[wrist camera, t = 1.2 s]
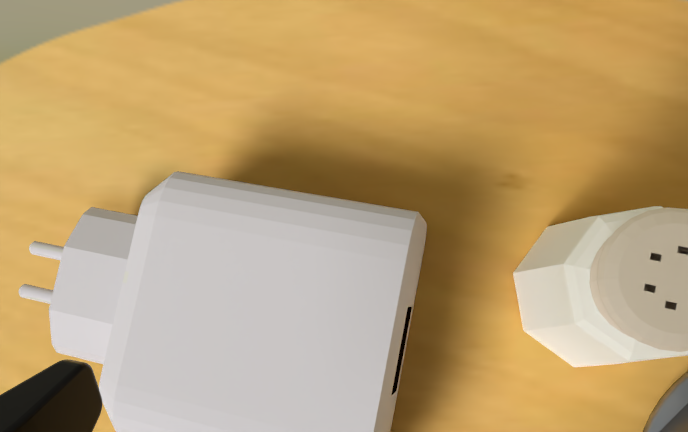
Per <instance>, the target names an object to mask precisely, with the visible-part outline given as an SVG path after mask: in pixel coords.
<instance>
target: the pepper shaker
mask: <svg viewBox="0 0 688 432" xmlns="http://www.w3.org/2000/svg"><path fill="white" fill-rule="evenodd" d="M513 276H514V281H515V287H516V292H517V298H518V303H519V309H520V314H521V320H522V325H523V331H525V332H526V333H527V334H529V335H530V336H532V337H533V338H534V339H536V340H537V341H538V342H540V343H541V344H543V345H544V346H545V347H547V348H548V349H549V350H551V351H552V352H554V353H555V354H556V355H558V356H559V357H561V358H562V359H563V360H565V361H566V362H567V363H569V364H570V365H572V366H573V367H584V366H597V365H609V364H622V363H628V362H636V361H644V360H653V359H661V358H669V357H678V356H688V209H681V208H669V207H667V208H664V207H662V206H653V207H647V208H641V209H635V210H629V211H623V212H616V213H610V214H604V215H598V216H591V217H587V218H583V219H578V220H574V221H570V222H565V223H561V224H557V225H553V226H548V227H546V229H545V230H544V231H543V233H542V234H541V236H540V237H539V238H538V240H537V241H536V242H535V244H534V245H533V246H532V248H531V249H530V251H529V252H528V253H527V255H526V256H525V257H524V259H523V260H522V262H521V263H520V264H519V266H518V267H517V268H516V270H515V271H514V272H513Z"/></svg>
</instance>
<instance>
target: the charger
mask: <svg viewBox="0 0 688 432" xmlns="http://www.w3.org/2000/svg"><path fill="white" fill-rule="evenodd" d="M426 233H427V223H426V222H425V220H424V219H423V218H422V216H421V215H420V213H419V212H416V211H410V210H404V209H399V208H393V207H387V206H381V205H375V204H369V203H363V202H357V201H351V200H345V199H339V198H333V197H327V196H321V195H315V194H309V193H303V192H297V191H292V190H286V189H280V188H274V187H268V186H262V185H256V184H250V183H244V182H238V181H232V180H226V179H220V178H214V177H208V176H202V175H196V174H190V173H185V172H179V171H178V172H174V173H173V174H172V175H170V176H169V177H168V178H167V179H165V180H164V181H163V182H161V183H160V184H159V185H158V186H156V187H155V188H154V189H153V190H151V191H150V192H149V193H148V194H147V195H146V196H145V197H144V199H143V201H142V203H141V206H140V209H139V213H138V216H136V215H130V214H125V213H120V212H115V211H109V210H104V209H99V208H93V207H91V208H90V209H89V210H87V211H86V212H85V213H84V214H83V215H82V217H81V218H80V220H79V222H78V223H77V225H76V227H75V229H74V230H73V232H72V234H71V235H70V237H69V239H68V241H67V242H66V244H65V246H64V247H61V246H56V245H51V244H47V243H42V242H37V241H34V242H33V243H32V244H31V245H30V247H29V250H30V253H31V254H33V255H38V256H43V257H47V258H52V259H57V260H61V261H60V265H59V270H58V274H57V278H56V282H55V286H54V290H49V289H45V288H40V287H36V286H32V285H27V284H24V285H22V286H21V287H20V289H19V295H20V297H23V298H27V299H31V300H36V301H40V302H44V303H49V304H50V307H49V316H50V327H51V339H52V345H53V347H54V348H55V350H56V352H57V353H61V354H65V355H69V356H73V357H77V358H81V359H85V360H89V361H93V362H97V363H101V364H104V365H103V369H102V373H101V378H100V384H99V391H100V394H101V397H102V402H103V404H104V406H105V409H106V411H107V413H108V415H109V418H110V420H111V422H112V424H113V426H114V429H115V431H116V432H390V431H391V426H392V421H393V415H394V410H395V404H396V399H397V394H398V388H399V383H400V377H401V372H402V367H403V361H404V356H405V350H406V345H407V340H408V334H409V329H410V323H411V318H412V313H413V307H414V302H415V297H416V291H417V286H418V280H419V275H420V269H421V264H422V258H423V252H424V247H425V241H426ZM408 307H412V310H411V315H410V321H409V326H408V331H407V337H406V342H405V348H404V353H403V358H402V364H401V369H400V374H399V380H398V385H397V391H396V392H395V393H394V394H393V395H392V389H393V384H394V378H395V373H396V368H397V362H398V357H399V352H400V346H401V341H402V335H403V330H404V325H405V319H406V314H407V309H408ZM391 395H392V396H391Z"/></svg>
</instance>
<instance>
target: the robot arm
mask: <svg viewBox="0 0 688 432" xmlns="http://www.w3.org/2000/svg"><path fill="white" fill-rule="evenodd" d="M101 409H102V397H101V394H100V391H99V388H98V385H97V382H96V379H95V376H94V373H93V370H92V368H91V366H90V365H88V364H87V363H84V362H78V361H73V360H62V361H59V362H57V363H55V364H54V365H52V366H50V367H48V368H47V369H45V370H43V371H41V372H40V373H38V374H36V375H34V376H33V377H31V378H29V379H27V380H26V381H24V382H22V383H20V384H19V385H17V386H15V387H13V388H12V389H10V390H8V391H7V392H5V393H3V394H1V395H0V432H92V431H93V429H94V427H95V424H96V422H97V420H98V418H99V416H100V413H101Z"/></svg>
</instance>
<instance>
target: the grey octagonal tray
mask: <svg viewBox="0 0 688 432" xmlns="http://www.w3.org/2000/svg"><path fill="white" fill-rule="evenodd" d="M643 432H688V372H687V373H685V374H684V375H683V376H682V377H681V378H680V379H679V380H677V381H676V382H675V383H674V384H673V385H672V386H671V387H670V388H669V390H668V391H667V392H666V393H665V394H664V395H663V397H662V398H661V399H660V400H659V402H658V403H657V405H656V407H655V408H654V410H653V411H652V413H651V415H650V416H649V419H648V421H647V423H646V425H645V428H644V430H643Z"/></svg>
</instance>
